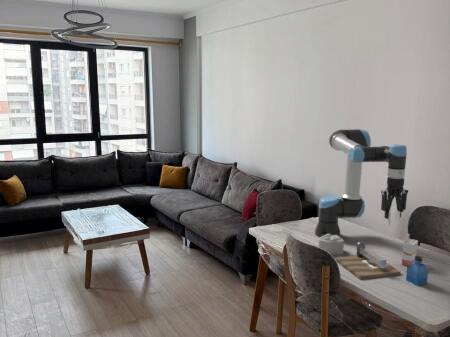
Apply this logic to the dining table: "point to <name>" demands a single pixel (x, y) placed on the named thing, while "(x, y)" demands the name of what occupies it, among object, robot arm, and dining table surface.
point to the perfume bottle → (417, 272)
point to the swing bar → (369, 254)
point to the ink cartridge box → (409, 250)
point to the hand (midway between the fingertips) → (392, 224)
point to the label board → (366, 267)
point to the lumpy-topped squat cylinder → (331, 244)
